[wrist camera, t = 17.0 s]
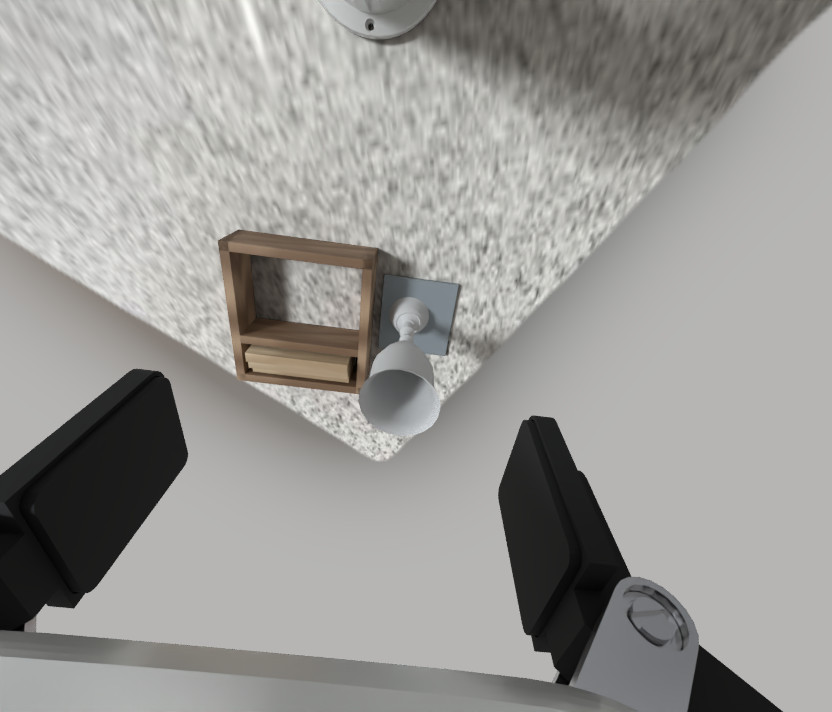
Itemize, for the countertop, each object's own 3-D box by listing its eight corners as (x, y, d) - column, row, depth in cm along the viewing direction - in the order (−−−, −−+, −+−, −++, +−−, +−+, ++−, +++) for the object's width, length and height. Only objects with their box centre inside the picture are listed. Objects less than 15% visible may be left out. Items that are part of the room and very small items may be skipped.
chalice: (370, 306, 47) (341, 391, 32) (415, 278, 45) (409, 354, 30) (402, 349, 50) (391, 446, 35) (447, 325, 48) (455, 416, 33)
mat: (384, 274, 45) (384, 275, 45) (458, 283, 46) (458, 285, 45) (378, 346, 51) (378, 347, 50) (445, 354, 51) (445, 355, 51)
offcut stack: (265, 328, 50) (244, 352, 44) (356, 339, 50) (347, 365, 45) (267, 351, 52) (248, 378, 46) (355, 362, 52) (346, 389, 47)
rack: (238, 229, 43) (217, 240, 39) (378, 248, 44) (372, 261, 40) (253, 359, 52) (237, 379, 48) (368, 373, 53) (363, 394, 49)
